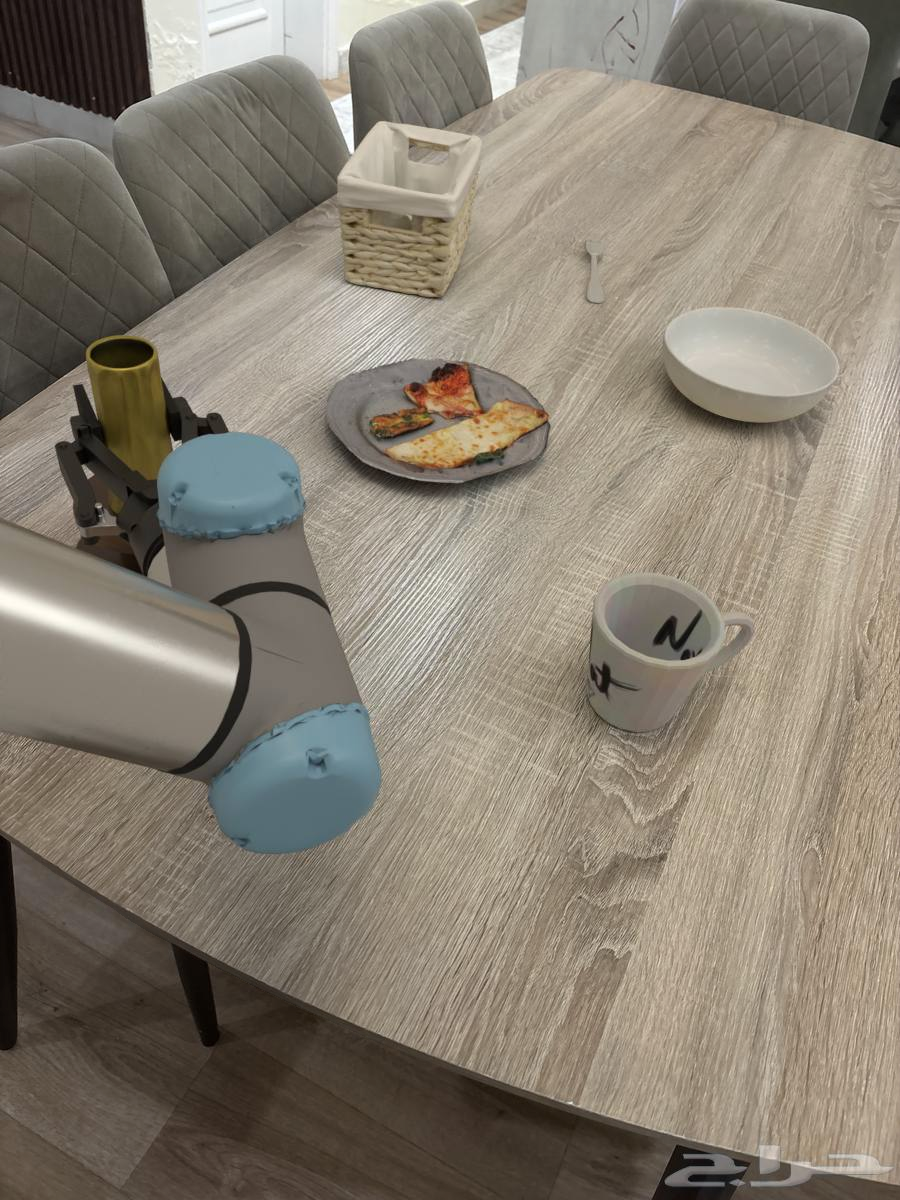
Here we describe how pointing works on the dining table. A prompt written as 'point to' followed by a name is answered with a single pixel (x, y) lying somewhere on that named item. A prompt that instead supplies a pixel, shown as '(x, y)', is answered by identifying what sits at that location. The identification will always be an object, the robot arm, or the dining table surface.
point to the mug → (654, 647)
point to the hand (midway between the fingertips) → (118, 392)
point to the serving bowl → (747, 363)
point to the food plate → (437, 420)
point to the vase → (130, 404)
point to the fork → (595, 273)
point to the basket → (407, 208)
